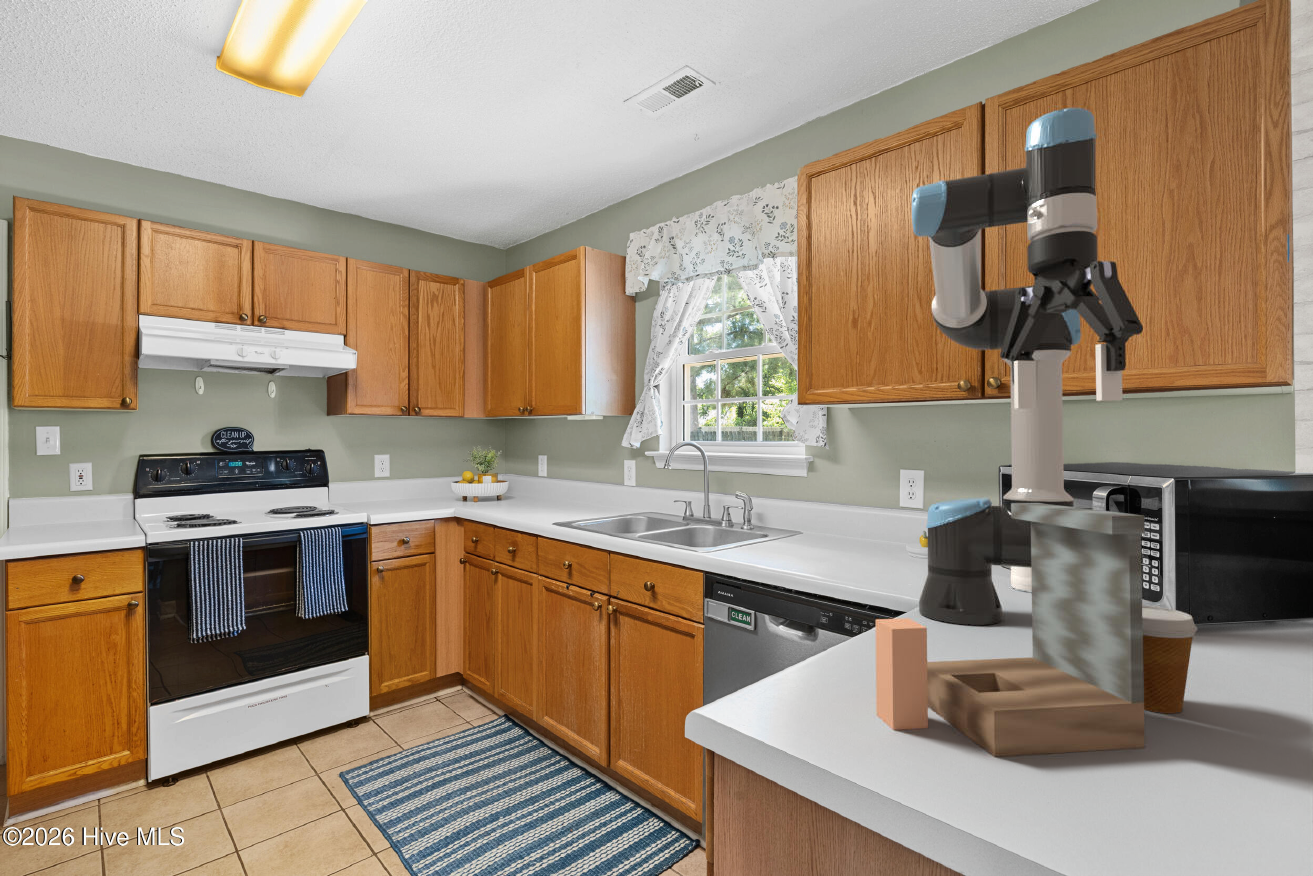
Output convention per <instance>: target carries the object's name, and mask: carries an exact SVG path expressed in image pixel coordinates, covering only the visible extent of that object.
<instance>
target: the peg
mask: <svg viewBox="0 0 1313 876" xmlns="http://www.w3.org/2000/svg"><path fill="white" fill-rule="evenodd" d="M927 662H928V629H927V627H926V626H924V625H922V624H920V623H918V622H916V621H915V620H912V619H911V618H904V617H903V618H884V619H883V618H882V619H881V618H877V619H875V684H876V685H875V688H876V690H875V693H876V696H875V697H876V704H875V705H876V706H875V707H876V716H877V717H878V718H879V719H881V720H882V721H883V722H884V723H885V724H886V725H887V726H888V727H889V728H891V730H893V731H897V730H898V731H899V730H914V729H915V730H917V729H929V707H928V688H927Z"/></svg>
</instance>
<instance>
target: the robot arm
mask: <svg viewBox="0 0 1313 876" xmlns="http://www.w3.org/2000/svg"><path fill="white" fill-rule="evenodd" d="M1097 138H1098V135H1097V133H1096V126H1095V117H1094V114H1093V113H1092V112H1091V111H1090V110H1088V109H1086V108H1080V107H1068V108H1064V109H1057V110H1054V111H1051V112H1048V113H1046V114H1044V115H1042V116H1040V117H1038V118H1037V119H1035V120H1034V121H1032V122H1031V123H1030V125H1029V126H1028V128H1027V130H1026V136H1025V147H1024V152H1025V167H1021V168H1013V169H1007V170H1002V171H996V172H991V173H987V174H981V175H975V176H968V177H962V178H954V179H949V180H939V181H937V182H934V183H929V184H925V185H921V186H919V187H917V188H915V189H914V191H913V192H912V197H911V220H912V221H911V223H912V231H913V233H914V235H915V236H916V237H919V238H920V237H921V238H922V237H928V241H929V249H930V255H931V256H930V257H931V265H932V266H931V267H932V274H933V282H934V291H935V295H934V297H933V299H932V302H931V314H932V319H933V321H934V323H935V325H936V327H937V329H939V330H940V332H941V333H942V334H943V335H945V337H946V338H948V339H950V340H951V341H953V342H954V343H956V344H958V345H961V346H963V347H965V348H968V349H972V350H976V351H977V350H979V351H988V350H1000V353H999V357H1000V358H1001V360H1003V361H1004V362H1005V363H1006V364H1007V365H1008V366H1009V367H1010V425H1011V426H1010V427H1011V428H1010V430H1011V431H1010V432H1011V433H1010V434H1011V435H1010V436H1011V437H1010V438H1011V439H1010V440H1011V489H1010V490H1009V491H1008V492H1007V493H1005V494H1004V495H1003V497H1002V499H1003V505H992V504H993V503H992V501H991V499H990V498H988V497H982V498H981V497H978V498H976V497H974V498H962V499H953V500H945V501H939V502H935V503H933V504H931V505H930V506H929V508H928V511H927V524H926V526H925V527H926V529H927V576H926V579H925V582H924V585H923V589H922V591H921V594H920V598H919V599H918V611H919V613H920V614H921V616H923V617H926V618H928V619H932V620H935V621H939V622H943V621H944V623H949V622H950V624H958V625H959V624H960V625H968V624H970V626H973V625H974V626H981V625H982V626H983V625H985V626H986V624H987V625H993V624H999V623H1000V622H1002V621H1003V608H1002V605H1001V601H1000V599H999V596H998V592H997V590H996V588H995V584H994V582H993V574H992V566H1000V567H1011V566H1013V567H1029V568H1031V521H1027V520H1021V519H1014V518H1011V503H1042V504H1050V505H1059V506H1067V507H1074V498H1073V497H1072V495H1070V494H1069V493H1068V492H1066V490H1065V487H1064V483H1065V481H1064V479H1065V478H1064V477H1065V476H1064V428H1063V427H1064V423H1063V419H1064V418H1063V415H1064V414H1063V365H1062V364H1063V362H1064V361H1065V360H1066V359H1068V357H1070V355H1072V346H1075V345H1078V344H1079V343H1080V342H1081V340H1082V339H1081V338H1082V337H1081V336H1082V332H1081V318H1082V319H1083V320H1084V321H1085V322H1086V323H1087V325H1088V326H1089V327H1090V328H1091V330H1093V332H1094V334H1096V336H1098V340H1096V341H1097V343H1099V344H1095V346H1094V347H1095V388H1096V389H1095V391H1096V392H1095V394H1096V396H1095V397H1096V402H1103V401H1104V402H1119V401H1120V402H1121V401H1123V371H1125V369H1126V365H1127V362H1126V359H1127V358H1126V357H1127V355H1126V343H1127V342H1128V341H1129V339H1130V338H1132V337H1133V336H1135V335H1136V336H1137V335H1140V334H1142V332H1144V331H1143V330H1144V325H1143V324H1142V323H1141V321H1140V320H1141V319H1139V316H1138V314H1137V312H1136V310H1135V309H1134V307H1133V305H1132V302H1131V301H1130V299H1129V297H1128V295H1127V293H1126V291H1125V290H1124V287H1123V286H1122V284H1121V281H1120V280H1119V275H1118V267H1117V262H1115V261H1111V260H1109V261H1107V260H1098V235H1097V234H1095V233H1094V232H1096V230H1097V229H1098V213H1097V212H1098V211H1097V209H1098V208H1097V189H1096V139H1097ZM1022 223H1026V224H1027V227H1026V228H1027V234H1026V235H1027V240H1028V241H1029V242H1030V243H1029V244H1028V245H1027V256H1026V258H1027V259H1026V261H1027V271H1028V272H1029V273H1030V274H1031V275H1033V276H1034V283H1033V285H1029V286H1020V287H1011V288H1010V287H1009V288H1002V289H992V290H983V289H982V288H981V287H982V286H981V285H982V281H981V280H982V277H981V276H982V229H988V228H993V227H994V228H996V227H1001V226H1008V225H1014V224H1015V225H1016V224H1022ZM1091 287H1093V289H1094V291H1093V289H1091ZM1075 507H1076V506H1075ZM1076 508H1078V507H1076Z"/></svg>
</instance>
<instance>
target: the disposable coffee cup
mask: <svg viewBox="0 0 1313 876" xmlns="http://www.w3.org/2000/svg"><path fill="white" fill-rule="evenodd" d="M1142 622H1143V680H1144V711H1147V712H1154V713H1161V714H1177V713H1181V712H1182V711H1183V709H1184V708H1183V707H1184V699H1185V693H1186V686H1187V679H1188V673H1189V672H1188V671H1189V667H1190V666H1189V664H1190V658H1191V650H1192V644H1193V637H1194V636H1195V635H1196V632H1197V631H1198V626H1197V625H1196V624H1195V622H1194V618H1193V617H1192V615H1191V614H1189V613H1186V612H1183V611H1180V610H1177V609H1173V608H1167V607H1163V606H1154V605H1148V604H1147V605H1145V604H1142Z"/></svg>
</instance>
